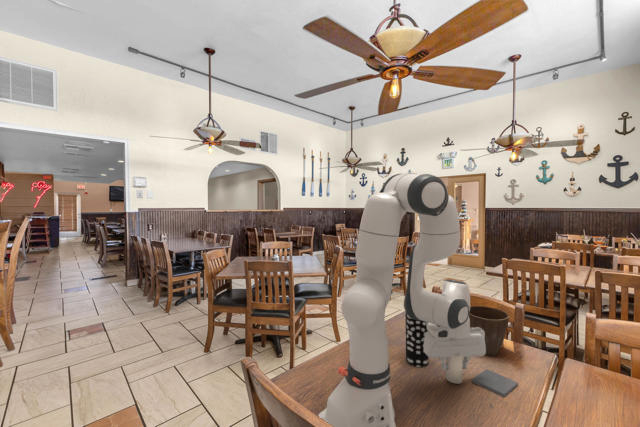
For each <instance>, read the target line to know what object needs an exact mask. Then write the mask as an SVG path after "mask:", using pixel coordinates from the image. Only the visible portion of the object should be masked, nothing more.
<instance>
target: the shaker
mask: <svg viewBox="0 0 640 427" xmlns="http://www.w3.org/2000/svg"><path fill="white" fill-rule="evenodd" d="M463 359H464V357H463V356H462V355H461V356H460V353H455V356H452V357H447V358H446V360H445V362H446V363H447V364H448V365H449V367H448V368H449V369H448V370H445V378H446V380H447V381H448V382H450V383H453V384H462V383H463V370H464V369H463Z"/></svg>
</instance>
